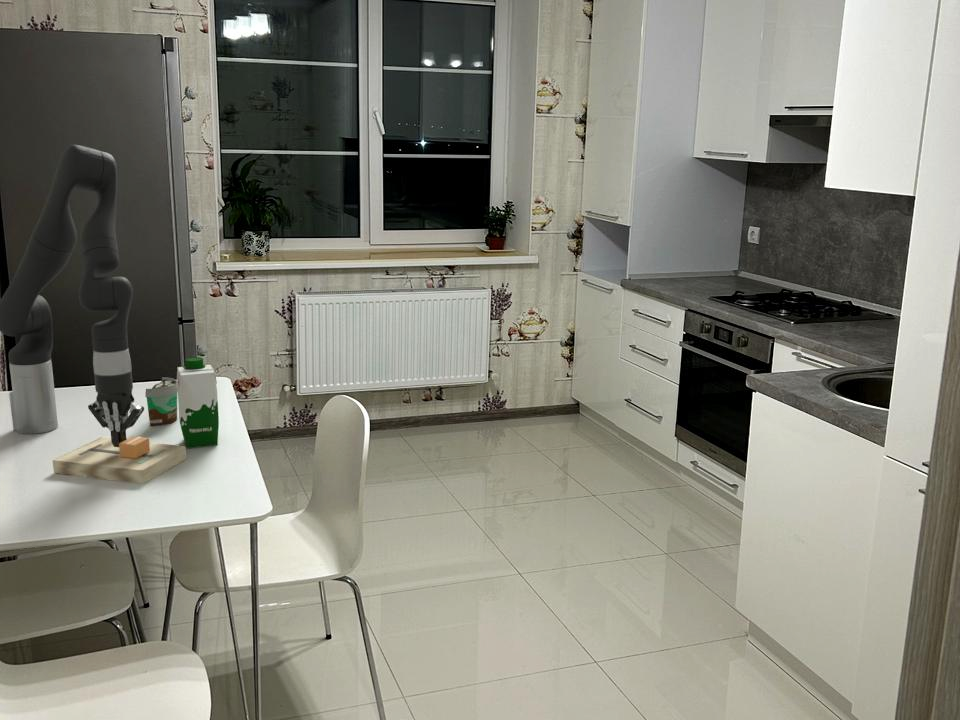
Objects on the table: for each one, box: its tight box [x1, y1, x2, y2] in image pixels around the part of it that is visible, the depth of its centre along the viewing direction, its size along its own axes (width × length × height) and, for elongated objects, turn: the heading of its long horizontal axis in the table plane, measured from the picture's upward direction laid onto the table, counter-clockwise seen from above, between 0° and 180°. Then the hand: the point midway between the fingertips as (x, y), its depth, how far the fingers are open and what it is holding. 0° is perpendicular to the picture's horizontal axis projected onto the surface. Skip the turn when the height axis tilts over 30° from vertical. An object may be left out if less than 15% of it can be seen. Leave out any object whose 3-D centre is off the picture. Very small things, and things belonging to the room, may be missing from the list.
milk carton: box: [176, 356, 220, 449], centre depth 214 cm, size 9×9×20 cm
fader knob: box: [119, 436, 150, 458], centre depth 199 cm, size 4×5×3 cm
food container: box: [144, 376, 178, 427], centre depth 232 cm, size 12×6×10 cm, turn 179°
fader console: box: [52, 437, 187, 485], centre depth 200 cm, size 22×16×3 cm
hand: (119, 446), depth 199 cm, fingers closed
